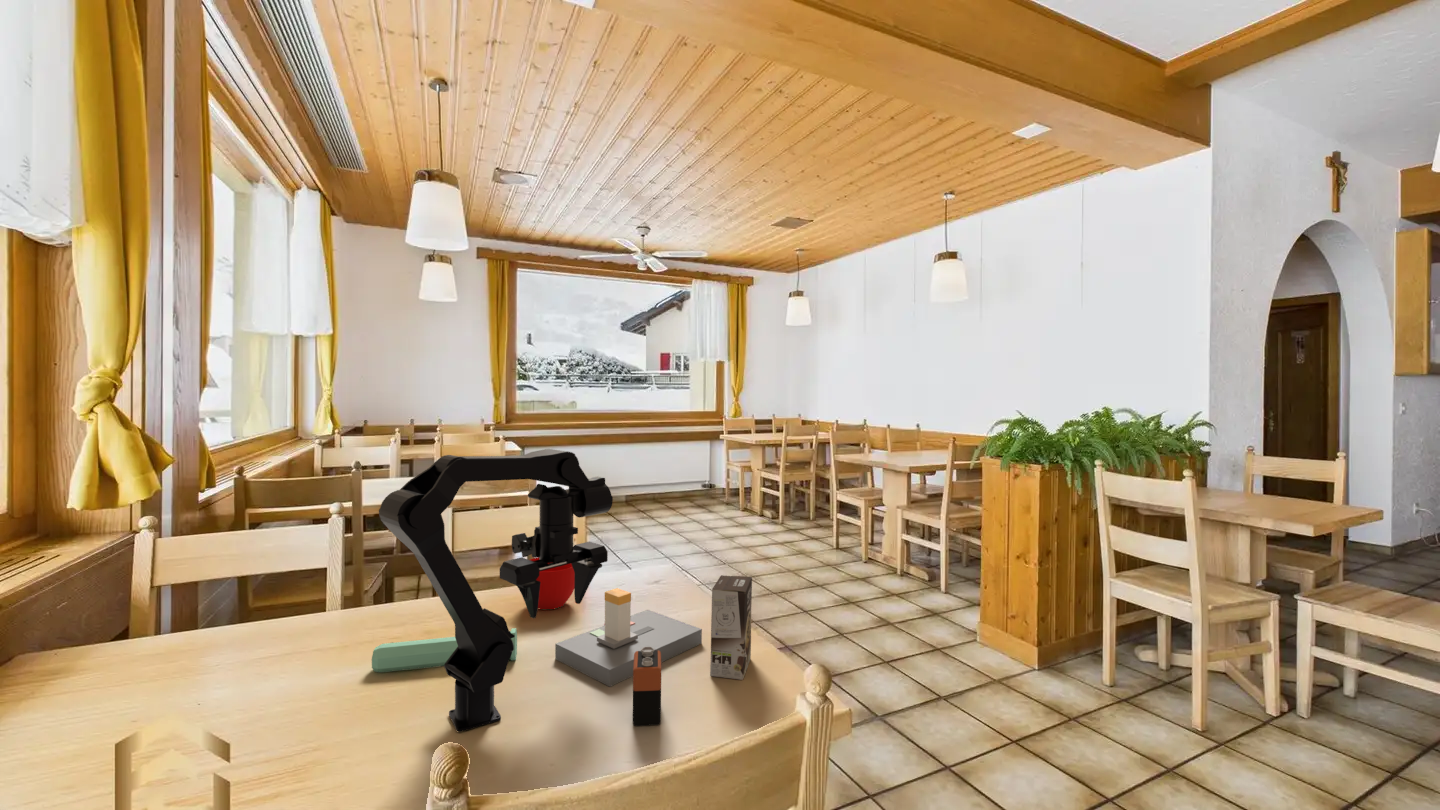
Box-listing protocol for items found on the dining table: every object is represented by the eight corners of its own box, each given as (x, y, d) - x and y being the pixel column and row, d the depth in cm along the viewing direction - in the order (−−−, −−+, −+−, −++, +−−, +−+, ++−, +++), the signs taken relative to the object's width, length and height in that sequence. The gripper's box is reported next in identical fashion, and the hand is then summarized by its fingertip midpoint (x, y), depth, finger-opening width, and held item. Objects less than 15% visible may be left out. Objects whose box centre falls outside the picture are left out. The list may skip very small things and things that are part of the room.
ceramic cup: (498, 617, 138) (498, 573, 138) (541, 593, 154) (541, 553, 154) (549, 625, 134) (549, 579, 134) (587, 599, 150) (588, 558, 150)
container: (368, 642, 111) (515, 627, 117) (377, 642, 116) (517, 628, 122) (365, 677, 109) (514, 661, 115) (374, 676, 114) (516, 660, 120)
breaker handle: (613, 648, 115) (614, 599, 115) (596, 641, 118) (597, 593, 118) (637, 638, 120) (638, 591, 119) (620, 631, 123) (621, 585, 123)
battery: (660, 703, 102) (660, 644, 102) (660, 726, 96) (661, 662, 95) (633, 704, 102) (634, 644, 102) (632, 727, 95) (633, 663, 95)
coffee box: (744, 680, 111) (745, 591, 110) (709, 676, 112) (710, 588, 111) (751, 658, 119) (753, 576, 119) (719, 655, 121) (720, 573, 120)
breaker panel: (609, 686, 108) (609, 668, 107) (555, 659, 118) (555, 642, 118) (701, 643, 126) (701, 628, 126) (647, 622, 136) (647, 608, 136)
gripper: (572, 507, 120) (572, 586, 120) (482, 523, 106) (482, 613, 106) (609, 516, 113) (609, 600, 113) (518, 534, 98) (518, 631, 99)
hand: (556, 610), depth 108 cm, fingers open, 9 cm apart
